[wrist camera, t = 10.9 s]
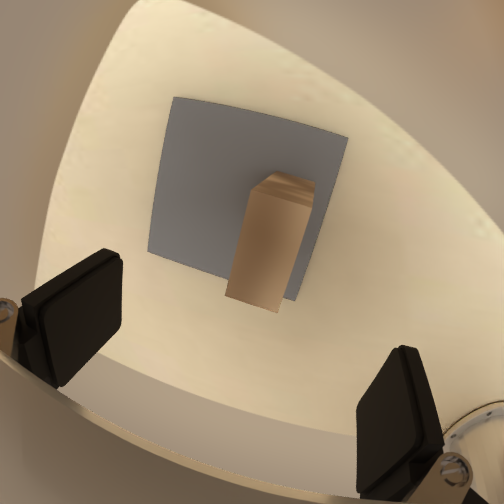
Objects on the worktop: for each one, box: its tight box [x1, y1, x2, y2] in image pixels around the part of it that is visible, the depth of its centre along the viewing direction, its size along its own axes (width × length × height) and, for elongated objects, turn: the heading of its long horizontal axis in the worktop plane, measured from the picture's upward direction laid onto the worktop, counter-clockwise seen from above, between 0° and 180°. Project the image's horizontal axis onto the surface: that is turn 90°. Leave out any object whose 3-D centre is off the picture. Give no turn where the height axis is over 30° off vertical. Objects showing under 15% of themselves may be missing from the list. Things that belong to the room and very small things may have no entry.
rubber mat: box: [147, 97, 348, 301], centre depth 25 cm, size 14×14×1 cm
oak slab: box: [225, 171, 315, 313], centre depth 20 cm, size 3×6×9 cm, turn 166°
